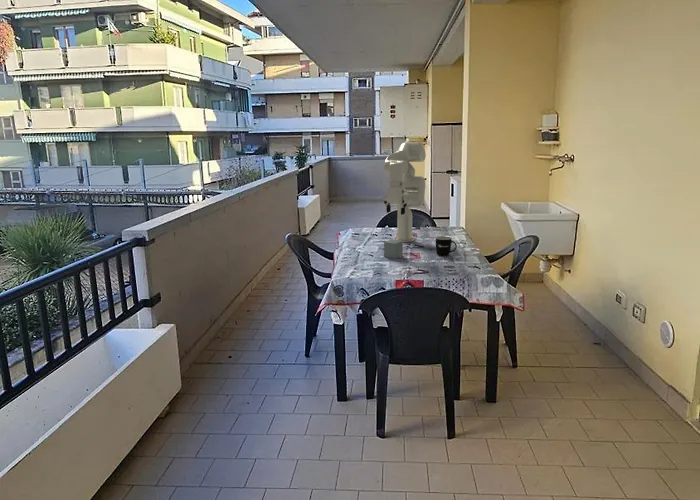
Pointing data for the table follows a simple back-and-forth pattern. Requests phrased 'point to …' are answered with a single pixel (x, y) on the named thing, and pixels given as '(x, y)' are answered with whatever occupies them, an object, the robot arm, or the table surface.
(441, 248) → the mug
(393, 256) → the grey rounded box
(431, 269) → the table surface
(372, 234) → the table surface
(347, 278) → the table surface
